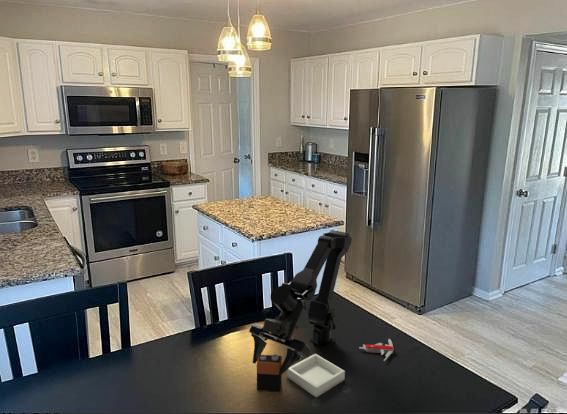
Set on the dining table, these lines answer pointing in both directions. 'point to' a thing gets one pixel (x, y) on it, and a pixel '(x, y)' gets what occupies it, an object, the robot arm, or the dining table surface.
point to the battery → (269, 373)
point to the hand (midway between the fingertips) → (266, 368)
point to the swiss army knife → (380, 348)
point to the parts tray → (315, 374)
